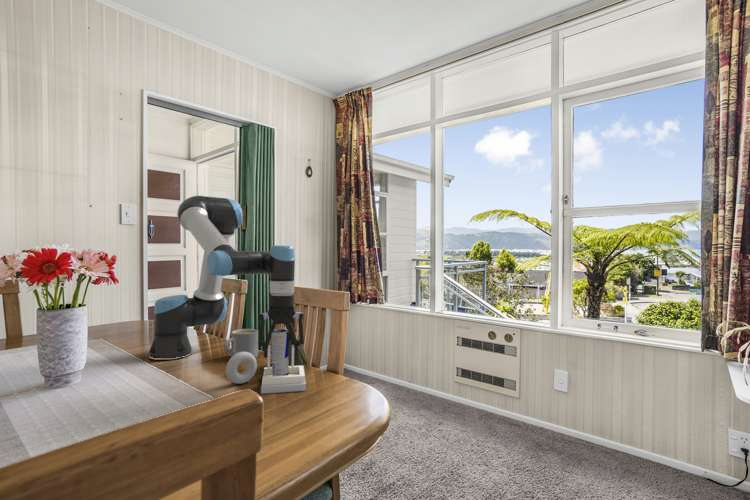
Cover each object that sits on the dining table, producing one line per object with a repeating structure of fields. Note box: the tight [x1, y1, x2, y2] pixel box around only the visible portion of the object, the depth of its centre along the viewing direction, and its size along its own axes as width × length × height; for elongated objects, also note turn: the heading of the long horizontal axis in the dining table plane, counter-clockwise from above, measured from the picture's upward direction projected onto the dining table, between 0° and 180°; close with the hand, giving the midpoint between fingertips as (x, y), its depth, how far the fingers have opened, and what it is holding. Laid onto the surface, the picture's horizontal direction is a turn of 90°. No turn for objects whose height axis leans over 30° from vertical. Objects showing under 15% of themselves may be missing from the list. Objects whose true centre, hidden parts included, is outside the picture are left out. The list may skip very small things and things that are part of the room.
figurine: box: [270, 315, 309, 367], centre depth 141 cm, size 14×14×20 cm
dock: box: [260, 365, 307, 394], centre depth 123 cm, size 16×13×4 cm
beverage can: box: [270, 328, 289, 376], centre depth 121 cm, size 5×5×15 cm
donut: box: [225, 352, 258, 385], centre depth 122 cm, size 10×4×10 cm, turn 135°
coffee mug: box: [223, 328, 259, 358], centre depth 151 cm, size 13×10×10 cm
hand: (280, 367), depth 122 cm, fingers open, 7 cm apart
